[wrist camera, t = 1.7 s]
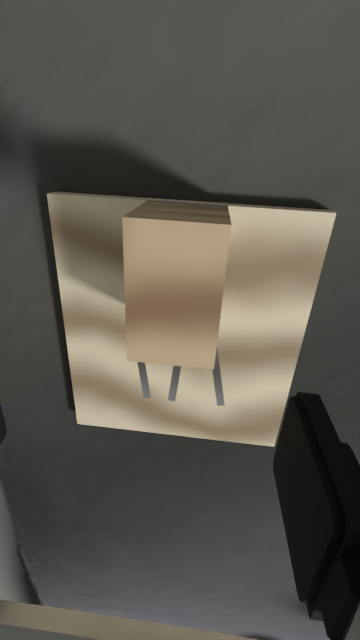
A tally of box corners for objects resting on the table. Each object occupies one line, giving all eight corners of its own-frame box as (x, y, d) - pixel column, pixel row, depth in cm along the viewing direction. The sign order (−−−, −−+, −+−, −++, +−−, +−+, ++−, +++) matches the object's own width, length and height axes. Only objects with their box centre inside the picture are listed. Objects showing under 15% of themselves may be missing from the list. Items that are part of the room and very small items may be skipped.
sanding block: (147, 200, 20) (122, 217, 15) (227, 205, 20) (231, 224, 14) (146, 314, 24) (126, 360, 18) (214, 320, 23) (213, 369, 18)
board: (55, 191, 22) (46, 193, 20) (330, 209, 20) (336, 213, 19) (82, 414, 31) (77, 424, 30) (272, 436, 30) (274, 446, 29)
